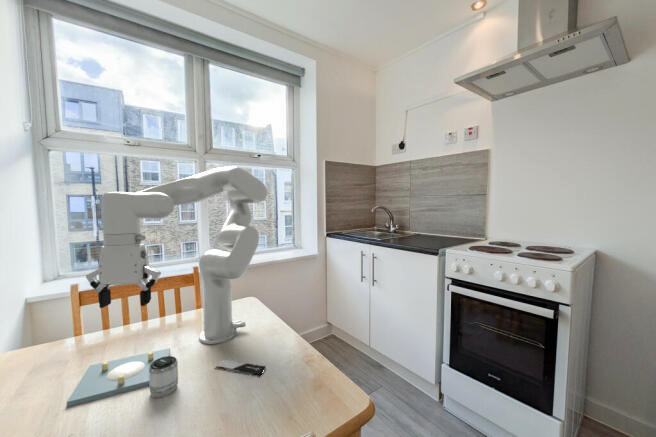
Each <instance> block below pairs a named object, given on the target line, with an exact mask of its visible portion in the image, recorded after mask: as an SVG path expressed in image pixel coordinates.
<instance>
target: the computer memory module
mask: <svg viewBox="0 0 656 437" xmlns="http://www.w3.org/2000/svg"><path fill="white" fill-rule="evenodd" d="M266 367H267V366H265V365H258V364H252V363H243V362H238V361H232V360H225V359H223V360H222V361H221V362H220V363H219V364H218V365H217V366H215V367H214V370H217V371H223V372H228V373H233V374H234V373H235V374H240V375H243V376H244V375H246V376H250V375H251V377H255V376H257V377H256V378H261V377H262V376H261V375H262V374H264V373H262V372H263V370H264V369H265V370H266ZM260 376H261V377H260Z"/></svg>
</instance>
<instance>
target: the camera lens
mask: <svg viewBox="0 0 656 437" xmlns="http://www.w3.org/2000/svg"><path fill="white" fill-rule="evenodd" d="M178 367H179V365H178V358H177V357H175V356H172V355H171V356H170V355H169V356H166V357H162V358H159V359H157V360H155V361H154V362H153V363H152V364H151V365H150V367H149V384H150V385H148V386H149V387H148V388H149V391H150V395H151V397H153V398H154V399H160V398H164V397H167V396H170V395H171V394H173V393H174V392H175V391H176V389H177V387H178V382H179V370H178Z"/></svg>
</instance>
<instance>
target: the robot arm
mask: <svg viewBox="0 0 656 437" xmlns="http://www.w3.org/2000/svg"><path fill="white" fill-rule="evenodd" d="M223 192H226V193H227V199H228V201H229V204H230V212H229V214H228V216H227V218H226V220H225V222H224V224H223V226H222V227H221V229H220V230H219V233H218V234H217V238H216V242H217V245H218V246H219V247H220V248H223V249H219V248H217V249H215V248H214V249H209V250H207V251H205V252H204V253H203V254H202V255H201V256H200V258H199V262H198V268H199V273H200V277H201V283H202V284H201V285H202V303H203V304H202V307H203V308H202V309H203V312H202V313H203V330H202V331H201V332H200V334H199V336H198V338H199V339H198V340H199V342H201V343H203V344H206V345H216V344H221V343H224V342H227V341H230V340H231V339H233V338H234V337H235V336H236V335H237V332H238V331H237V330H238V328H245V327H246V321H244V320H243V321H241V319H239V320H233V310H232V309H233V306H232V299H233V298H232V284H231V280H238V279H240V278H241V277H242V276H243V275H244V274H245V273H246V271H247V270H248V268H249V265H250V263H251V261H252V259H253V256H255V252H256V251H257V249H258V246H259V242H260V234H259V232H258V230H257V228H255V227H254V226H252V225H250V224H251V221H252V217H253V216H252V211H251V209H250V207H249V206H250V205H249V204H258V203H260V204H261V203H262V202H264V201H265V200H266V198H267V195H268V189H267V187H266V185H265V183H264V182H263V181H261V180H260V179H258V178H257V177H255V176H254V175H253V174H251V173H250V172H248V171H246V170H245V169H243V168H241V167H238V166H223V167H216V168H212V169H210V170H206V171H203V172H200V173H198V174H194V175H191V176H187V177H184V178H180V179H177V180H174V181H171V182H170V181H169V182H167V183H163V184H160V185H156V186H152V187H149V188H146V189H143V190H140V191H136V192H129V191H128V192H126V191H109V192H105V193H103V194H102V196H101V213H102V231H103V232H102V233H103V234H102V236H103V237H102V239H103V245H102V246H101V247H100V252H99V257H98V269H95V270H94V271H92V272H90V273H88V274H86V275H85V278H86V280H87V281H88V283H89V285H90V287H92V288H93V289H94V291H95V293H97V296H98V307H99V308H100V309H103V308H105V307H107V306H109V305H111V304H112V297H111V296H112V295H111V294H112V292H111V288H109V287H110V286H121V285H123V286H124V285H137V286H138V287H139V288H140V289H141V290H140V291H139V296H140V297H139V300H140V301H139V302H140V306H141V307H145V306H147V305H148V304H149V303H151V300H152V288H153V287H154V285H155V284H156V283H157V282H158V280H159V278H160V276H161V274H162V272H161V271H159V270H157V269H155V268H153V267H150V262H149V255H148V252H147V248H146V245H145V244H144V243H142V241H146V235H145V234H143V235H142V232H141V219H143V220H146V219H147V220H162V219H166V218H168V217H169V216H170V215H172V214H173V212H174V210H175V207H176V206H181V205H191V204H195V203H199V202H202V201H205V200H207V199H209V198H211V197H214V196H216V195H218V194H221V193H223ZM150 277H151V279H150V280H149V278H150Z"/></svg>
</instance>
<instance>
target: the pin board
mask: <svg viewBox="0 0 656 437" xmlns="http://www.w3.org/2000/svg"><path fill="white" fill-rule="evenodd" d="M170 353H171V348H168V347H167V348H164V349H160V350H154V351H150V352H145V353H141V354H135V355H131V356H126V357H122V358H118V359H113V360H109V361H104V362H99V363H93V364H91V365H89V366H88V368H87V369H86V371H85V373H84V374H83V375H82V376H81V379H80V380H79V381H78V383H77V385H76V387H75V388H74V390H73V392H72V393H71V395H70V396H69V398H68V399H67V400H66V407H68V408H69V407H72V406H73V407H74V406H76V405H78V404H79V405H80V404H84V403H86V402H90V401H95V400H98V399H103V398H106V397H110V396H113V395H117V394H118V395H119V394H122V393H125V392H129V391H132V390H136V389H139V388H145V387H148V386H149V385H150V384H149V367H150V365H151V364H152V363H153V362H154V361H155V360H157V359H159V358H162V357H166V356H170V355H171V354H170Z"/></svg>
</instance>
